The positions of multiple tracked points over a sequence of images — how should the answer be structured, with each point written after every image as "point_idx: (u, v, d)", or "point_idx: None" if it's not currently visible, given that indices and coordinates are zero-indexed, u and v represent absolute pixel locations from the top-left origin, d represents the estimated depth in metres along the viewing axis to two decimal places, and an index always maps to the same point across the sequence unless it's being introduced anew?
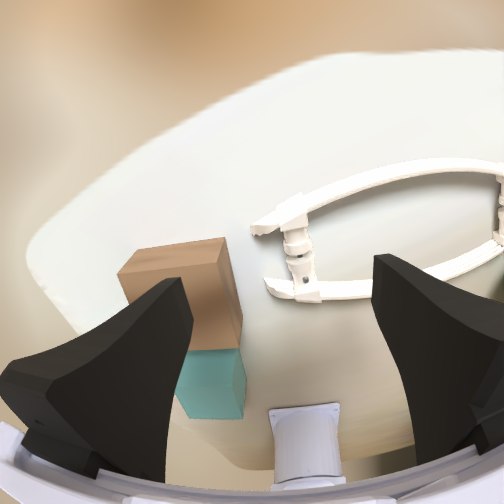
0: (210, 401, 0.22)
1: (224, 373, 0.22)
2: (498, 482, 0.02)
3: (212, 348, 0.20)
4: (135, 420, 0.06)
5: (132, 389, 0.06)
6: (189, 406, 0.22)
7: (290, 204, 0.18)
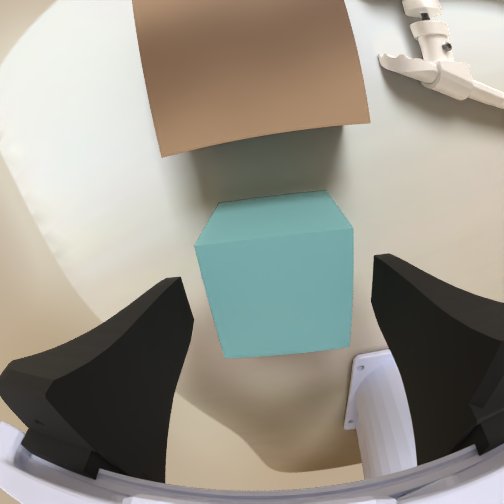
0: (290, 292, 0.10)
1: (324, 215, 0.10)
2: (498, 482, 0.02)
3: (313, 124, 0.09)
4: (135, 420, 0.06)
5: (132, 389, 0.06)
6: (230, 319, 0.10)
7: None
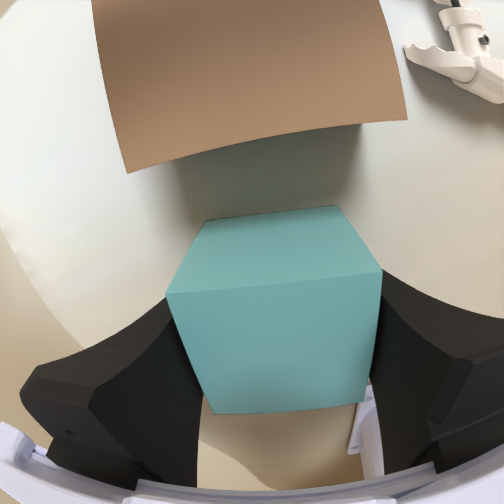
0: (294, 350, 0.07)
1: (341, 248, 0.07)
2: (498, 482, 0.02)
3: (332, 121, 0.06)
4: (171, 424, 0.06)
5: (168, 391, 0.06)
6: (217, 377, 0.08)
7: None
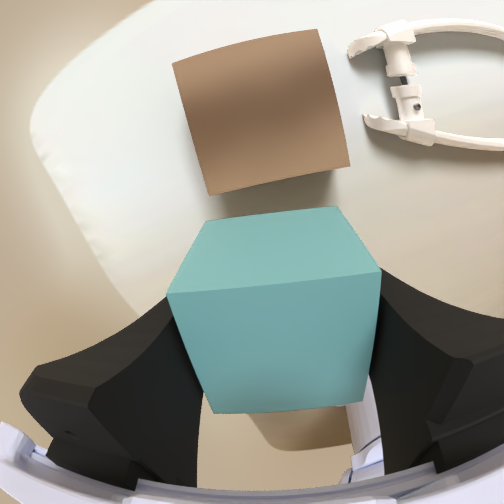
0: (293, 349, 0.07)
1: (340, 248, 0.07)
2: (498, 482, 0.02)
3: (311, 171, 0.13)
4: (171, 424, 0.06)
5: (168, 392, 0.06)
6: (218, 376, 0.08)
7: (393, 23, 0.11)
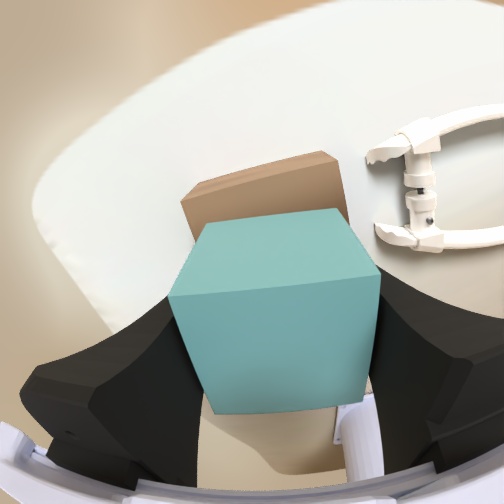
0: (294, 351, 0.07)
1: (340, 251, 0.08)
2: (498, 482, 0.02)
3: None
4: (171, 424, 0.06)
5: (168, 391, 0.06)
6: (219, 378, 0.08)
7: (419, 126, 0.12)
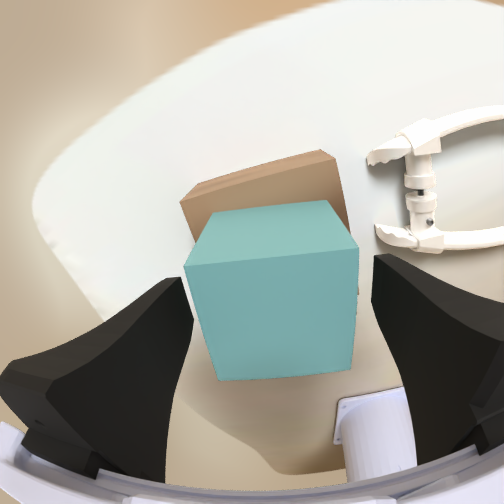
0: (288, 316, 0.09)
1: (326, 232, 0.09)
2: (498, 482, 0.02)
3: None
4: (135, 420, 0.06)
5: (132, 389, 0.06)
6: (224, 342, 0.10)
7: (419, 127, 0.12)
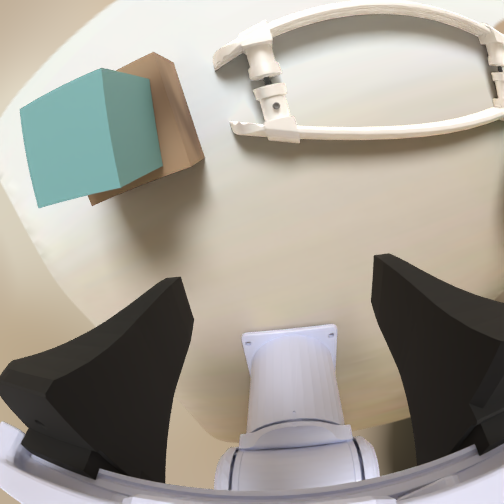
0: (66, 131, 0.09)
1: None
2: (498, 482, 0.02)
3: (159, 176, 0.15)
4: (135, 420, 0.06)
5: (132, 389, 0.06)
6: (36, 164, 0.10)
7: (252, 26, 0.13)
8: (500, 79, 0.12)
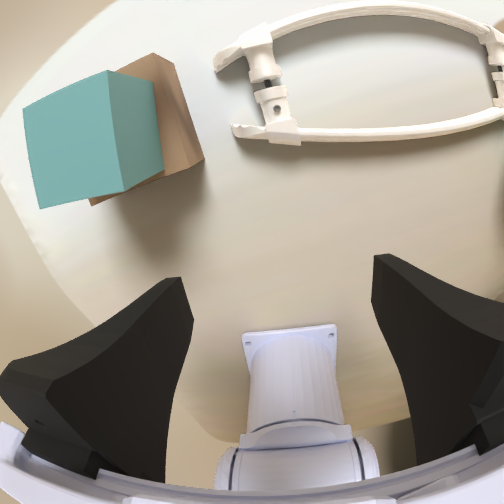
0: (69, 132, 0.10)
1: None
2: (498, 482, 0.02)
3: (158, 176, 0.15)
4: (135, 420, 0.06)
5: (132, 389, 0.06)
6: (39, 165, 0.10)
7: None
8: (500, 79, 0.12)
